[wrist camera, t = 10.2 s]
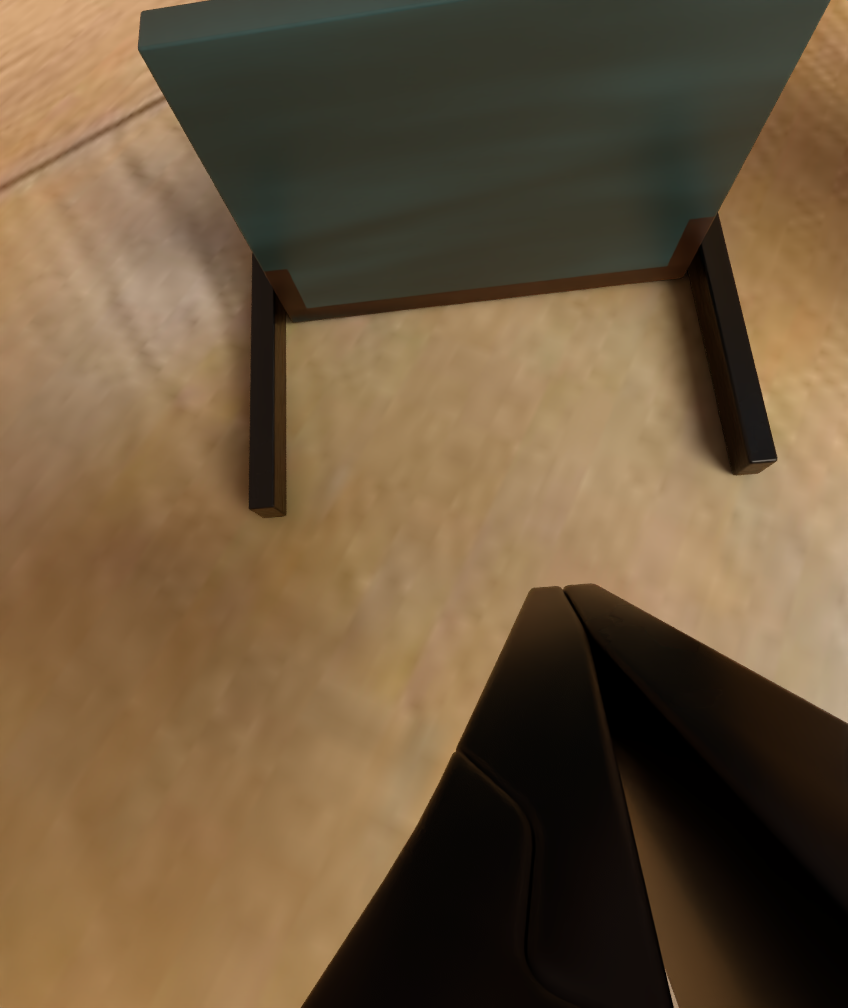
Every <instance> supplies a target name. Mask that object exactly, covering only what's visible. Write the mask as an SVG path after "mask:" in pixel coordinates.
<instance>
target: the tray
mask: <svg viewBox="0 0 848 1008" xmlns="http://www.w3.org/2000/svg"><path fill="white" fill-rule="evenodd" d="M829 2H830V0H208V1H202V2H196V3H190V4H184V5H177V6H171V7H165V8H159V9H153V10H146V11H142V12H141V17H140V29H139V40H138V50H139V52H140V54H141V56H142V58H143V59H144V61H145V63H146V65H147V67H148V68H149V70H150V72H151V74H152V75H153V77H154V79H155V81H156V82H157V84H158V86H159V88H160V89H161V91H162V93H163V95H164V97H165V98H166V100H167V102H168V104H169V105H170V107H171V109H172V111H173V112H174V114H175V116H176V118H177V120H178V121H179V123H180V125H181V127H182V128H183V130H184V132H185V134H186V135H187V137H188V139H189V141H190V143H191V144H192V146H193V148H194V150H195V151H196V153H197V155H198V157H199V158H200V160H201V162H202V164H203V165H204V167H205V169H206V171H207V173H208V174H209V176H210V178H211V180H212V181H213V183H214V185H215V187H216V188H217V190H218V192H219V194H220V196H221V197H222V199H223V201H224V203H225V204H226V206H227V208H228V210H229V211H230V213H231V215H232V217H233V218H234V220H235V222H236V224H237V226H238V227H239V229H240V231H241V233H242V234H243V236H244V238H245V240H246V241H247V243H248V245H249V247H250V249H251V250H252V252H253V254H254V256H255V257H256V259H257V261H258V263H259V264H260V266H261V268H262V270H263V272H264V273H265V275H266V277H267V279H268V280H269V282H270V284H271V286H272V287H273V289H274V291H275V293H276V295H277V296H278V298H279V300H280V302H281V303H282V305H283V307H284V309H285V311H286V312H287V314H288V316H289V318H290V319H291V321H292V322H293V323H296V322H304V321H313V320H322V319H330V318H339V317H348V316H356V315H365V314H374V313H382V312H391V311H399V310H408V309H417V308H425V307H434V306H443V305H451V304H460V303H469V302H477V301H486V300H495V299H503V298H512V297H521V296H529V295H538V294H547V293H555V292H564V291H573V290H581V289H590V288H599V287H607V286H616V285H625V284H633V283H642V282H650V281H659V280H668V279H676V278H683V277H684V275H685V273H686V271H687V269H688V267H689V265H690V263H691V261H692V260H693V258H694V256H695V254H696V252H697V250H698V248H699V246H700V245H701V243H702V241H703V239H704V237H705V235H706V233H707V231H708V230H709V228H710V226H711V224H712V222H713V220H714V218H715V216H716V214H717V213H718V211H719V209H720V207H721V205H722V203H723V201H724V199H725V198H726V196H727V194H728V192H729V190H730V188H731V186H732V184H733V183H734V181H735V179H736V177H737V175H738V173H739V171H740V169H741V167H742V166H743V164H744V162H745V160H746V158H747V156H748V154H749V152H750V151H751V149H752V147H753V145H754V143H755V141H756V139H757V137H758V136H759V134H760V132H761V130H762V128H763V126H764V124H765V122H766V121H767V119H768V117H769V115H770V113H771V111H772V109H773V107H774V106H775V104H776V102H777V100H778V98H779V96H780V94H781V92H782V91H783V89H784V87H785V85H786V83H787V81H788V79H789V77H790V76H791V74H792V72H793V70H794V68H795V66H796V64H797V62H798V60H799V59H800V57H801V55H802V53H803V51H804V49H805V47H806V45H807V44H808V42H809V40H810V38H811V36H812V34H813V32H814V30H815V29H816V27H817V25H818V23H819V21H820V19H821V17H822V15H823V14H824V12H825V10H826V8H827V6H828V4H829Z"/></svg>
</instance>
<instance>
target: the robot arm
mask: <svg viewBox="0 0 848 1008" xmlns="http://www.w3.org/2000/svg"><path fill="white" fill-rule="evenodd" d="M664 967H665V968H664ZM665 970H666V972H665ZM666 973H667V976H668V978H669V981H670V984H671V987H672V989H673V992H674V995H675V998H676V1000H677V1003H678V1006H679V1008H848V723H846V722H844V721H842V720H841V719H839V718H837V717H835V716H833V715H832V714H830V713H828V712H826V711H824V710H823V709H821V708H819V707H817V706H815V705H813V704H812V703H810V702H808V701H806V700H804V699H803V698H801V697H799V696H797V695H795V694H794V693H792V692H790V691H788V690H786V689H784V688H783V687H781V686H779V685H777V684H775V683H774V682H772V681H770V680H768V679H766V678H765V677H763V676H761V675H759V674H757V673H755V672H754V671H752V670H750V669H748V668H746V667H745V666H743V665H741V664H739V663H737V662H735V661H734V660H732V659H730V658H728V657H726V656H725V655H723V654H721V653H719V652H717V651H716V650H714V649H712V648H710V647H708V646H706V645H705V644H703V643H701V642H699V641H697V640H696V639H694V638H692V637H690V636H688V635H687V634H685V633H683V632H681V631H679V630H677V629H676V628H674V627H672V626H670V625H668V624H667V623H665V622H663V621H661V620H659V619H658V618H656V617H654V616H652V615H650V614H648V613H647V612H645V611H643V610H641V609H639V608H638V607H636V606H634V605H632V604H630V603H629V602H627V601H625V600H623V599H621V598H619V597H618V596H616V595H614V594H612V593H610V592H609V591H607V590H605V589H603V588H601V587H600V586H598V585H595V584H578V585H568V586H566V587H564V589H562V588H561V587H559V586H552V587H539V588H532V589H531V590H530V591H529V593H528V595H527V597H526V599H525V601H524V604H523V606H522V608H521V610H520V612H519V614H518V616H517V619H516V621H515V623H514V625H513V627H512V629H511V632H510V634H509V636H508V638H507V640H506V642H505V644H504V647H503V649H502V651H501V653H500V655H499V657H498V660H497V662H496V664H495V666H494V668H493V670H492V672H491V675H490V677H489V679H488V681H487V683H486V685H485V687H484V690H483V692H482V694H481V696H480V698H479V700H478V703H477V705H476V707H475V709H474V711H473V713H472V715H471V718H470V720H469V722H468V724H467V726H466V728H465V731H464V733H463V735H462V737H461V739H460V741H459V743H458V746H457V748H456V752H454V753H453V754H452V756H451V758H450V761H449V763H448V765H447V767H446V769H445V771H444V773H443V776H442V778H441V780H440V782H439V784H438V786H437V788H436V790H435V792H434V794H433V795H432V797H431V799H430V801H429V803H428V805H427V807H426V809H425V811H424V813H423V815H422V817H421V819H420V821H419V822H418V824H417V826H416V828H415V830H414V831H413V833H412V835H411V836H410V838H409V840H408V841H407V843H406V845H405V846H404V848H403V849H402V851H401V853H400V854H399V856H398V858H397V859H396V861H395V863H394V864H393V866H392V867H391V869H390V871H389V872H388V874H387V876H386V877H385V879H384V881H383V882H382V884H381V885H380V887H379V888H378V890H377V891H376V893H375V895H374V896H373V898H372V899H371V901H370V902H369V904H368V905H367V907H366V908H365V910H364V911H363V913H362V914H361V916H360V918H359V919H358V921H357V922H356V924H355V925H354V927H353V928H352V930H351V931H350V933H349V934H348V936H347V938H346V939H345V941H344V942H343V944H342V945H341V947H340V948H339V950H338V951H337V953H336V954H335V956H334V958H333V959H332V961H331V962H330V964H329V965H328V967H327V968H326V970H325V971H324V973H323V974H322V976H321V978H320V979H319V981H318V982H317V984H316V985H315V987H314V988H313V990H312V991H311V993H310V994H309V996H308V997H307V999H306V1001H305V1002H304V1004H303V1005H302V1007H301V1008H674V1007H673V1003H672V998H671V994H670V989H669V985H668V981H667V976H666Z"/></svg>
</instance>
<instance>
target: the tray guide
mask: <svg viewBox="0 0 848 1008" xmlns="http://www.w3.org/2000/svg"><path fill="white" fill-rule="evenodd" d="M688 272H689V277H690V281H691V286H692V290H693V295H694V300H695V304H696V309H697V313H698V318H699V322H700V327H701V332H702V336H703V341H704V345H705V350H706V354H707V359H708V364H709V368H710V373H711V377H712V382H713V387H714V391H715V396H716V400H717V405H718V409H719V414H720V419H721V423H722V428H723V432H724V437H725V441H726V446H727V451H728V455H729V460H730V464H731V469H732V473H733V475H747V474H758V473H760V472H761V471H763V470H764V469H766V468H767V467H769V466H770V465H772V464H773V463H775V462H776V461H777V454H776V450H775V446H774V442H773V438H772V434H771V430H770V425H769V421H768V417H767V413H766V409H765V405H764V401H763V397H762V392H761V388H760V384H759V380H758V376H757V372H756V368H755V363H754V359H753V355H752V351H751V347H750V343H749V339H748V335H747V330H746V326H745V322H744V318H743V314H742V310H741V306H740V301H739V297H738V293H737V289H736V285H735V281H734V277H733V273H732V268H731V264H730V260H729V256H728V252H727V248H726V244H725V239H724V235H723V231H722V227H721V223H720V219H719V215H718V213H717V214H716V216H715V218H714V220H713V222H712V224H711V226H710V228H709V230H708V231H707V233H706V235H705V237H704V239H703V241H702V243H701V245H700V246H699V248H698V250H697V252H696V254H695V256H694V258H693V260H692V261H691V263H690V265H689V267H688ZM249 509H250V510H251V511H253V512H255V513H256V514H258V515H259V516H261V517H262V518H269V517H281V516H286V311H285V309H284V307H283V305H282V303H281V302H280V300H279V298H278V296H277V295H276V293H275V291H274V289H273V287H272V286H271V284H270V282H269V280H268V279H267V277H266V275H265V273H264V272H263V270H262V268H261V266H260V264H259V263H258V261H257V259H256V257H255V256H254V254H253V252H252V314H251V383H250V453H249Z"/></svg>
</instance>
